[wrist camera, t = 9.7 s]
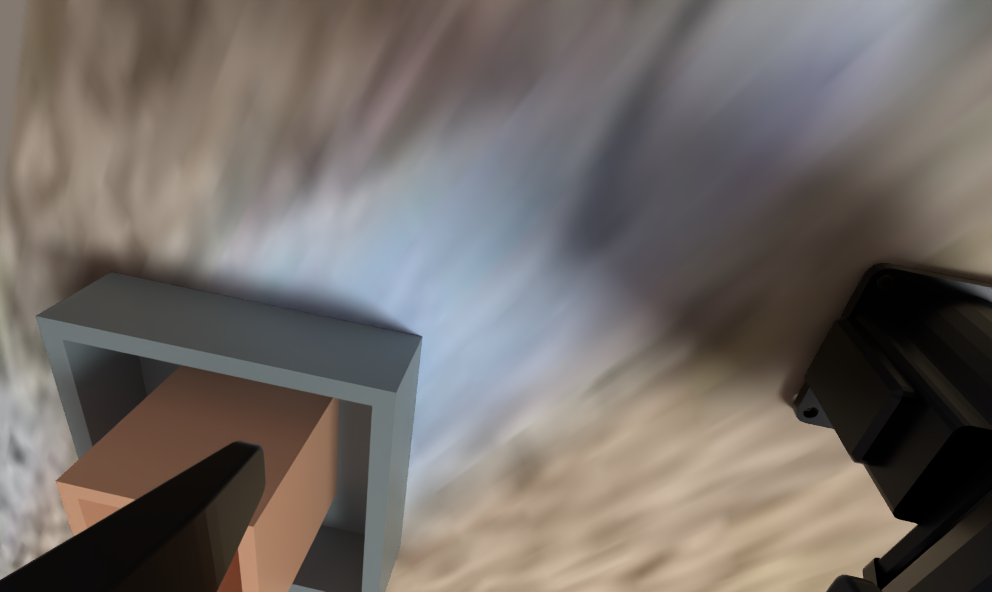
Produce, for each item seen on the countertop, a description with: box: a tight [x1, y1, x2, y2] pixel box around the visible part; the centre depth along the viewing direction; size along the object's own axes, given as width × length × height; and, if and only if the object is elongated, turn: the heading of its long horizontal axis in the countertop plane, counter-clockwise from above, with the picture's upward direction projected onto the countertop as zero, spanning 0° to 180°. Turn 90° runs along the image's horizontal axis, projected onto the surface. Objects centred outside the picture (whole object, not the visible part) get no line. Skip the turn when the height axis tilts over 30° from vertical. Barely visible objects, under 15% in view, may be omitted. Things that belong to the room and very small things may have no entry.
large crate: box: [36, 272, 422, 592], centre depth 24 cm, size 13×13×4 cm
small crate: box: [56, 365, 339, 592], centre depth 22 cm, size 6×6×7 cm
